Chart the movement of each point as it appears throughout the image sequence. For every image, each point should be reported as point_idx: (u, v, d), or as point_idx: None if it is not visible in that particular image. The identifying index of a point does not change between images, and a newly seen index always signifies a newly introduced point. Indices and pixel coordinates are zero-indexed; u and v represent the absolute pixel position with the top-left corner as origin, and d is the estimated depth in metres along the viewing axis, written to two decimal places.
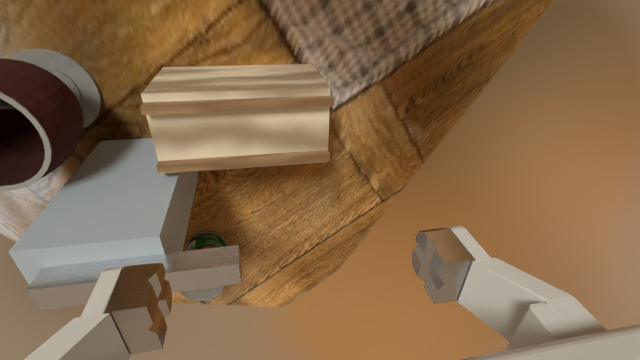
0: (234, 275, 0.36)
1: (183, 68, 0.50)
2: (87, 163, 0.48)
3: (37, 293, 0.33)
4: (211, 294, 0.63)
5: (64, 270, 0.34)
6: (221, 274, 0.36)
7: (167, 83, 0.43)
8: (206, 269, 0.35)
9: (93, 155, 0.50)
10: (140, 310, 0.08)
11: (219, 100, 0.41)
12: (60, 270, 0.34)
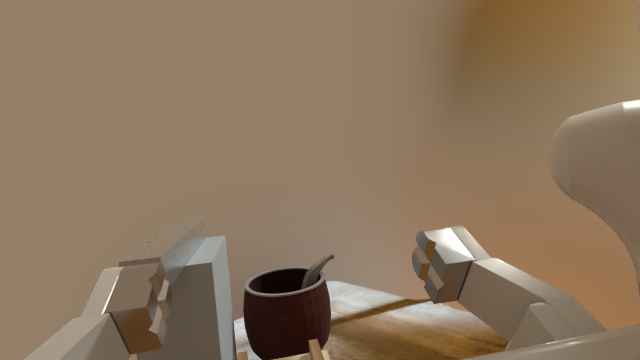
0: (140, 257, 0.26)
1: None
2: (236, 359, 0.48)
3: (197, 220, 0.45)
4: None
5: (201, 238, 0.43)
6: (151, 252, 0.28)
7: None
8: (169, 247, 0.29)
9: None
10: (140, 310, 0.08)
11: None
12: (201, 237, 0.44)
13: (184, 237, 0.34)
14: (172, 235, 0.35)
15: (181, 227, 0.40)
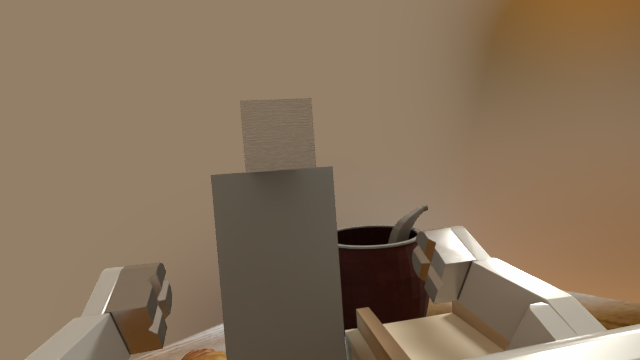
0: None
1: None
2: None
3: None
4: None
5: None
6: None
7: None
8: None
9: None
10: (140, 310, 0.08)
11: None
12: None
13: None
14: None
15: None
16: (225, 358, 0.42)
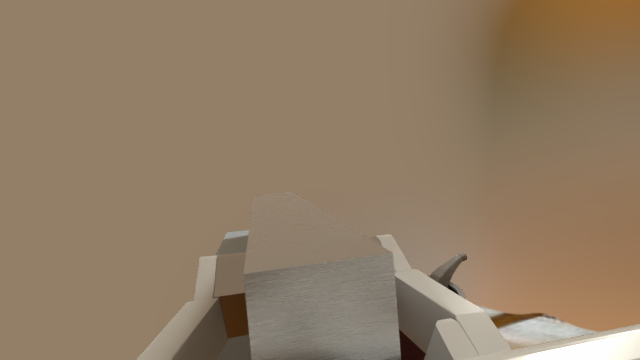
0: (310, 256, 0.07)
1: None
2: None
3: (285, 193, 0.26)
4: None
5: None
6: (320, 241, 0.08)
7: None
8: (343, 226, 0.10)
9: None
10: None
11: None
12: None
13: None
14: (287, 208, 0.16)
15: (277, 199, 0.20)
16: None
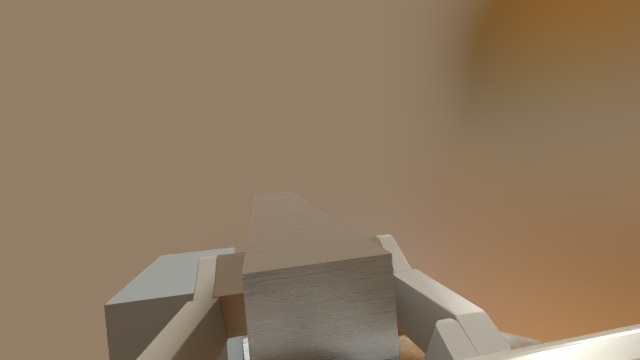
0: (309, 257, 0.07)
1: None
2: None
3: (285, 193, 0.26)
4: None
5: None
6: (319, 241, 0.08)
7: None
8: (343, 226, 0.10)
9: None
10: None
11: None
12: None
13: None
14: (287, 208, 0.16)
15: (277, 199, 0.20)
16: None
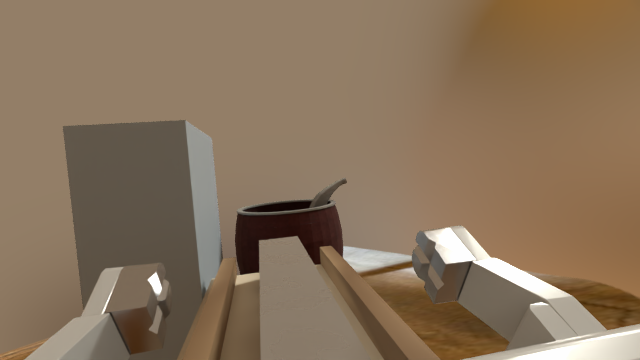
0: None
1: None
2: None
3: (290, 238, 0.26)
4: None
5: None
6: None
7: None
8: (356, 343, 0.10)
9: None
10: (140, 310, 0.08)
11: None
12: None
13: None
14: (295, 283, 0.16)
15: (284, 257, 0.20)
16: None
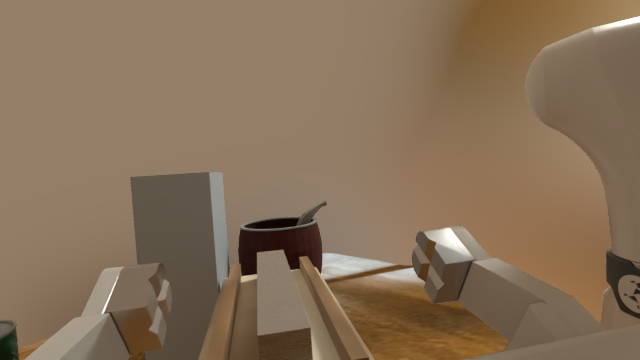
0: (281, 327, 0.19)
1: None
2: None
3: (278, 251, 0.38)
4: None
5: None
6: (287, 316, 0.21)
7: None
8: (300, 305, 0.22)
9: None
10: (140, 310, 0.08)
11: None
12: None
13: None
14: (277, 279, 0.28)
15: (272, 264, 0.33)
16: None
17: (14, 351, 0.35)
